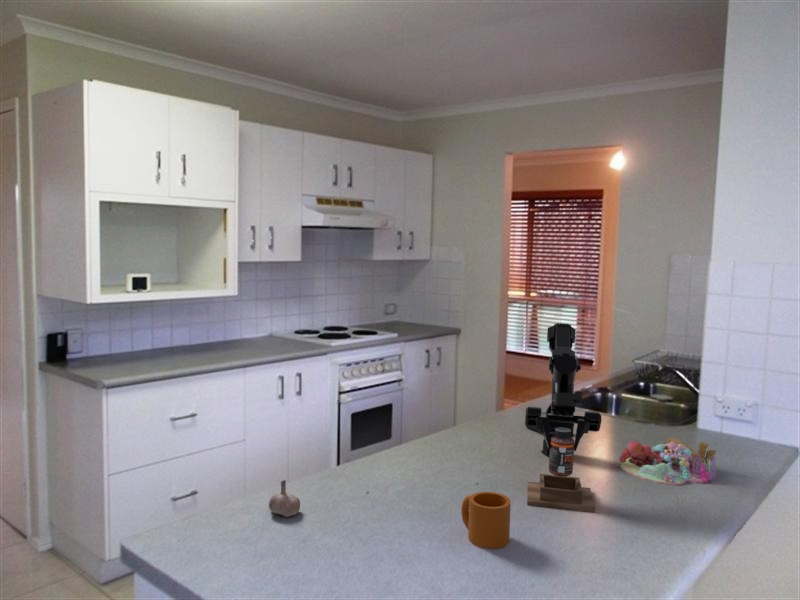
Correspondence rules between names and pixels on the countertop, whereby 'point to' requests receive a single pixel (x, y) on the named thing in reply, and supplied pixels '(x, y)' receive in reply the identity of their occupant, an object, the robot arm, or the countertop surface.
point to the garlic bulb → (284, 502)
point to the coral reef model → (669, 462)
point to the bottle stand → (560, 493)
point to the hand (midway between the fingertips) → (562, 449)
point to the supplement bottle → (561, 452)
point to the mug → (487, 519)
